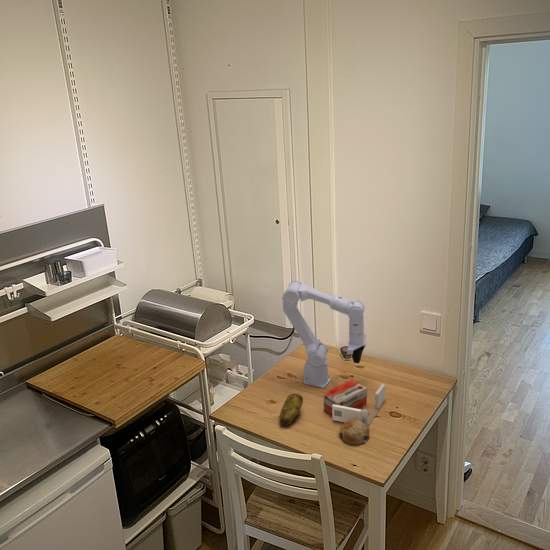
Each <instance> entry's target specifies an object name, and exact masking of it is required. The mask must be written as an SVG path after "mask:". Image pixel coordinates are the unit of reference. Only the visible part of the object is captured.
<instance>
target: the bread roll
mask: <svg viewBox="0 0 550 550" xmlns="http://www.w3.org/2000/svg"><path fill="white" fill-rule="evenodd" d="M338 434H339V435H340V438H341V440H343V441H344V442H346V443H347V444H349V445H356V446H357V445H362V444H366V443H367V442H368V441H367V440H368V438H369V437H370V429H369V427H367V425H366V424H365V423H363V422H362V420H361V421H358V420H349V421H347V422H343V424H341V426H340V427H339V430H338Z"/></svg>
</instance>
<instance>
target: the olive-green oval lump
mask: <svg viewBox="0 0 550 550" xmlns="http://www.w3.org/2000/svg"><path fill="white" fill-rule="evenodd" d="M303 403H304V398H303V396H302V395H300V394H299V393H290V394H289V395H288V396H287V397H286V399H285V401H284V403H283V405H282V407H281V410H280V412H279V420H280V423H281V424H282V425H283V426H288V425H290V424H292V423H293V421H294V419H296V417H297V416H298V414H299V412H300V411H301V408H302V406H303V405H304V404H303Z"/></svg>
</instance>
